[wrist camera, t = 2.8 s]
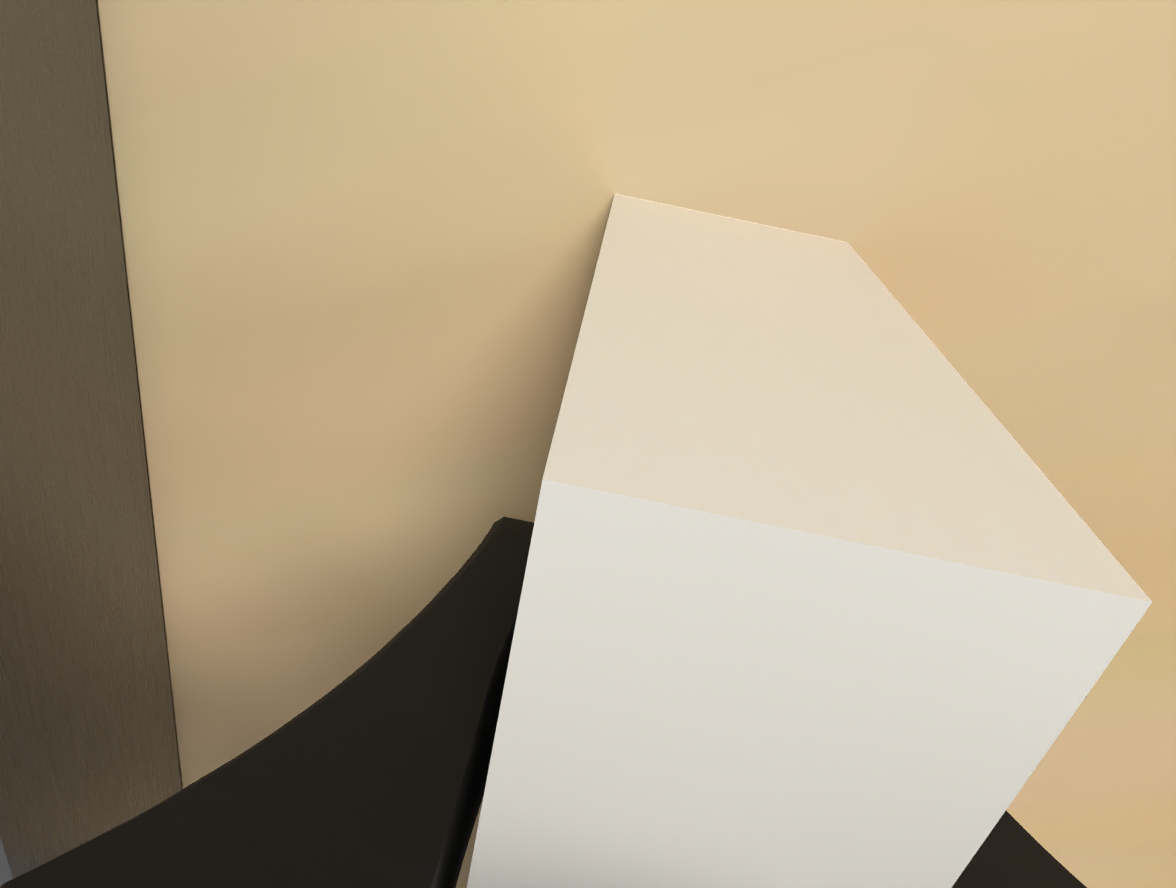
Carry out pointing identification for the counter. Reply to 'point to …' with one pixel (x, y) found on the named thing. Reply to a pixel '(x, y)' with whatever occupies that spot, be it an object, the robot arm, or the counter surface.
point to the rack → (70, 464)
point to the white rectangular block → (779, 587)
